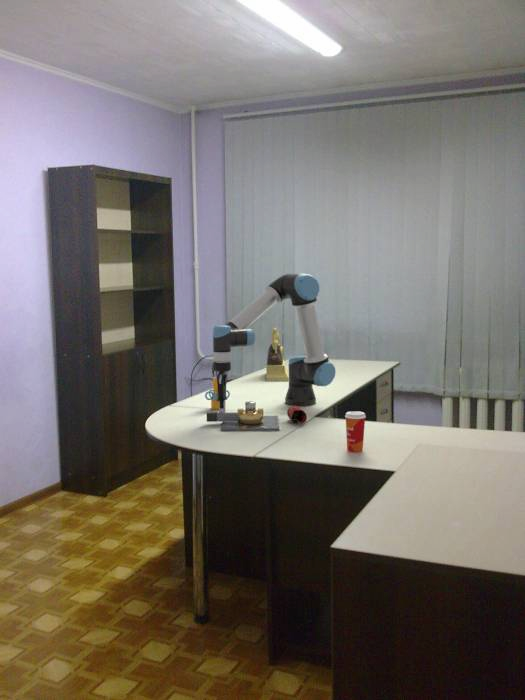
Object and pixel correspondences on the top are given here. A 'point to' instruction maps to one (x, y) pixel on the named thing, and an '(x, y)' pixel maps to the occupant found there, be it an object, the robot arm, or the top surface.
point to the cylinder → (214, 395)
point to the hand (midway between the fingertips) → (222, 415)
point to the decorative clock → (276, 360)
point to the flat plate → (268, 424)
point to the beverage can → (296, 414)
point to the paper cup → (355, 430)
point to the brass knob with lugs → (237, 416)
